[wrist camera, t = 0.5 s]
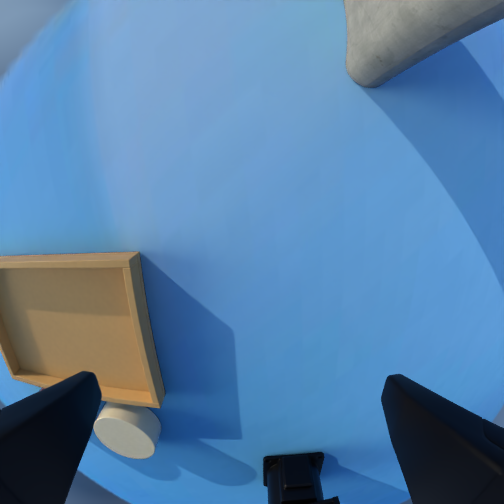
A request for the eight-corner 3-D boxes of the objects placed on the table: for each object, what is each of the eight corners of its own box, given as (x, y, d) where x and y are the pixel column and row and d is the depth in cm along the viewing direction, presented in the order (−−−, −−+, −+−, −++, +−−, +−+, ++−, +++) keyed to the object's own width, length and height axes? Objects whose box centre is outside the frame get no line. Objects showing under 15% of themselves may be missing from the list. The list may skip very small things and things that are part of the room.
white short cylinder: (167, 442, 27) (161, 463, 24) (113, 434, 27) (105, 453, 24) (154, 401, 25) (145, 423, 22) (96, 393, 25) (84, 412, 22)
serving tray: (166, 393, 25) (160, 408, 23) (21, 369, 25) (12, 378, 23) (139, 251, 21) (129, 259, 19) (-13, 256, 21) (-27, 262, 19)
